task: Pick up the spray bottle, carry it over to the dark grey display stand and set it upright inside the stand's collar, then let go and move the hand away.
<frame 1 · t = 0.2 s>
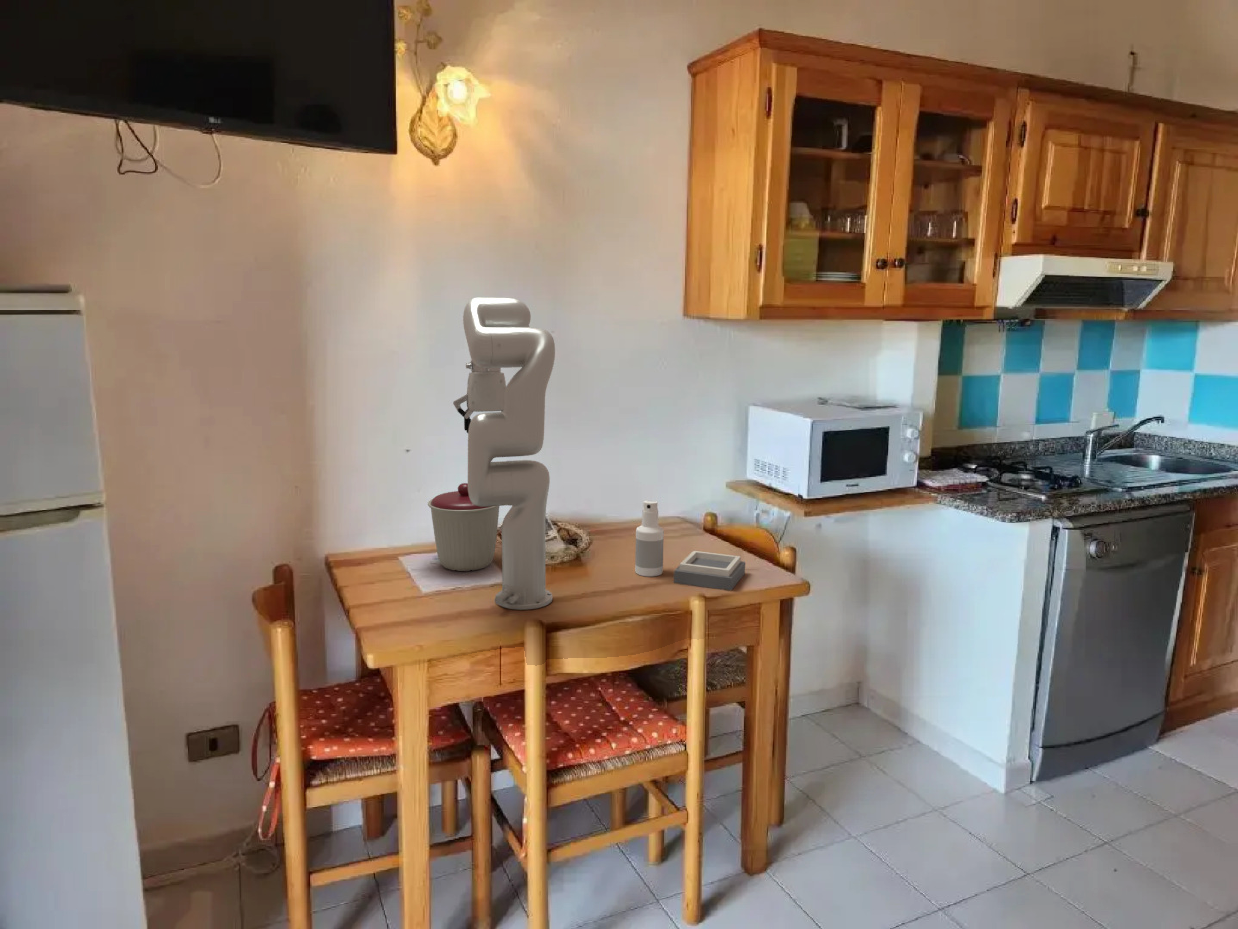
hand: (487, 432, 225), 31 cm above the table, tool pointing down, fingers open, 9 cm apart
display stand: (709, 578, 206), on the table
spray bottle: (648, 573, 210), on the table
canister: (466, 566, 213), on the table
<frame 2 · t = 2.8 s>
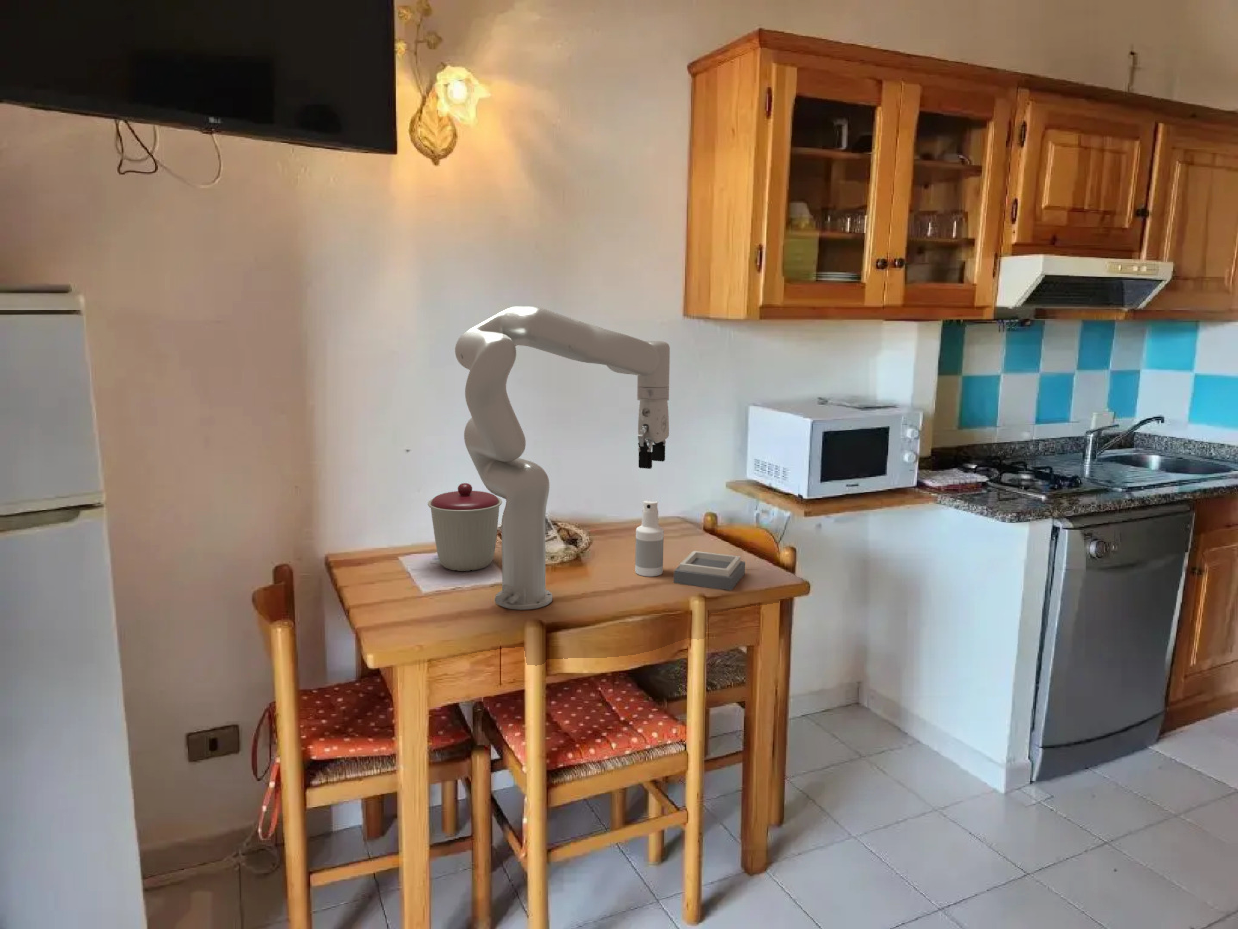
hand: (652, 464, 205), 27 cm above the table, tool pointing down, fingers open, 9 cm apart
nothing on the table moved.
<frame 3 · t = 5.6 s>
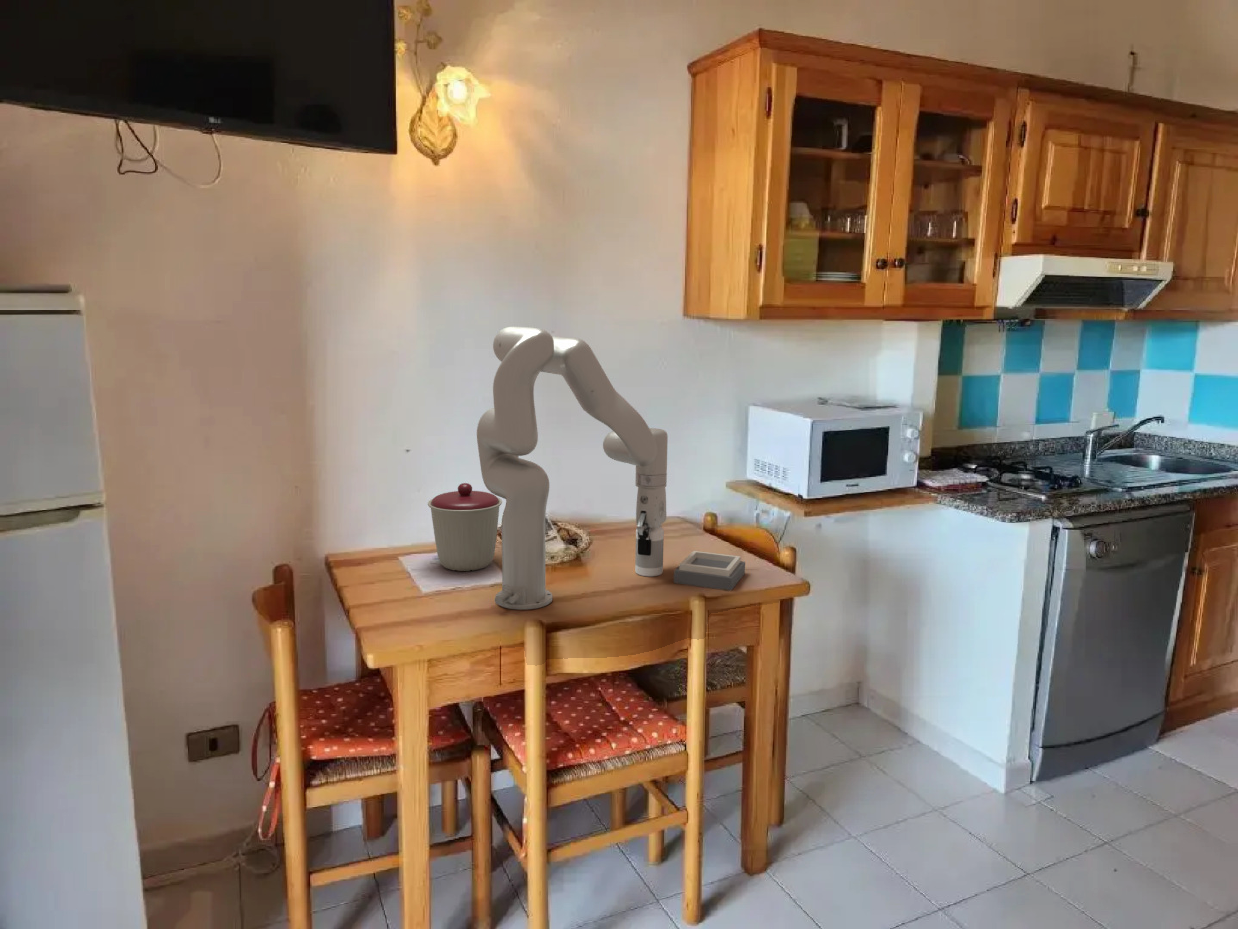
hand: (649, 550, 209), 6 cm above the table, tool pointing down, fingers closed on spray bottle, 6 cm apart
spray bottle: (648, 573, 210), on the table, touching gripper
everything else where it was.
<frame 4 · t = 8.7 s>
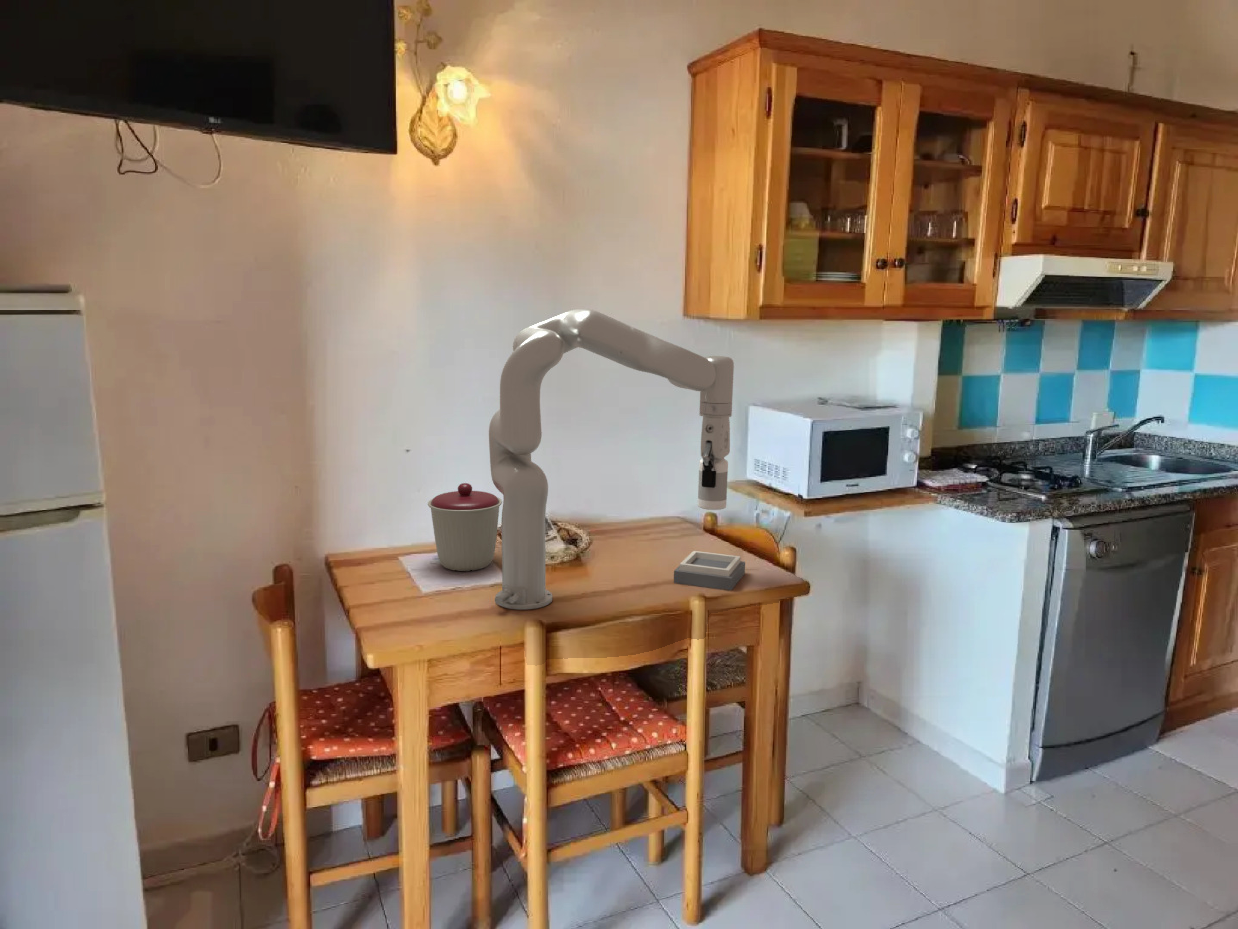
hand: (712, 483, 202), 24 cm above the table, tool pointing down, fingers closed on spray bottle, 6 cm apart
spray bottle: (711, 507, 203), point 18 cm above the table, touching gripper
everything else where it was.
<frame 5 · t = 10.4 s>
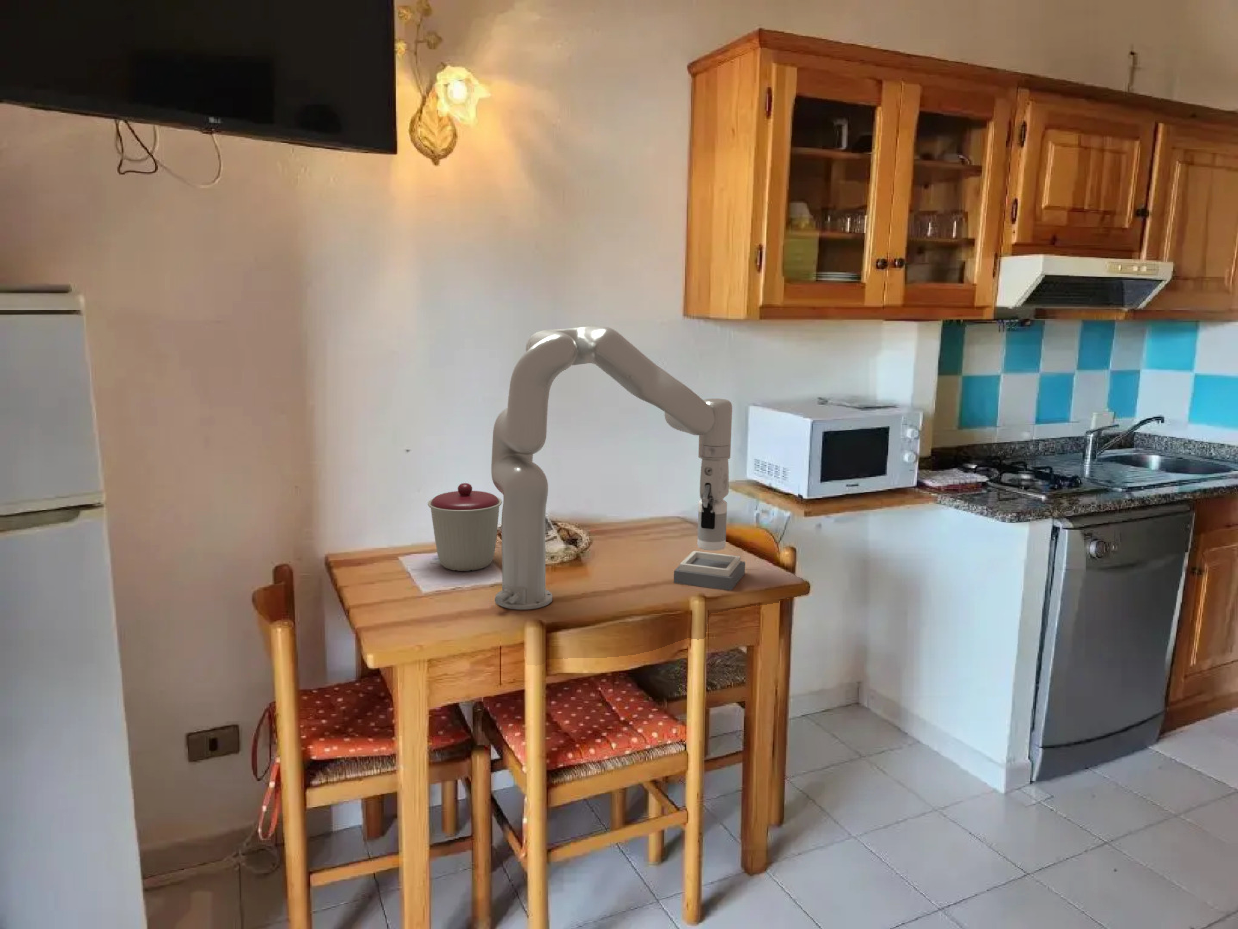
hand: (712, 523, 204), 14 cm above the table, tool pointing down, fingers closed on spray bottle, 6 cm apart
spray bottle: (711, 547, 205), point 8 cm above the table, touching gripper
everything else where it was.
when the fingers open (11 cm above the table, at t = 12.0 s): spray bottle drops 2 cm, resting on display stand.
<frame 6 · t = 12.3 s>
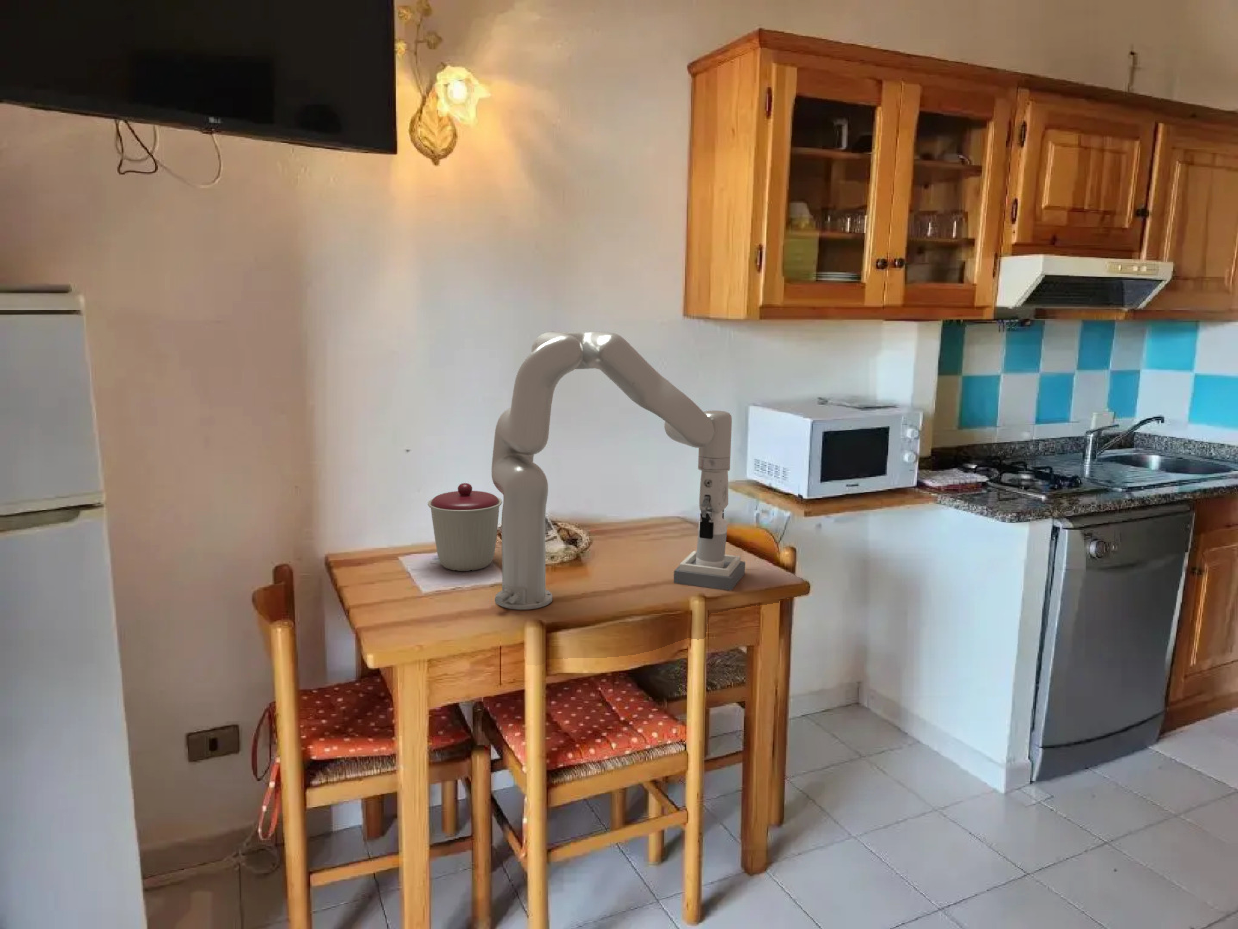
hand: (711, 533, 204), 11 cm above the table, tool pointing down, fingers open, 9 cm apart
spray bottle: (709, 566, 206), point 3 cm above the table, touching display stand
everything else where it was.
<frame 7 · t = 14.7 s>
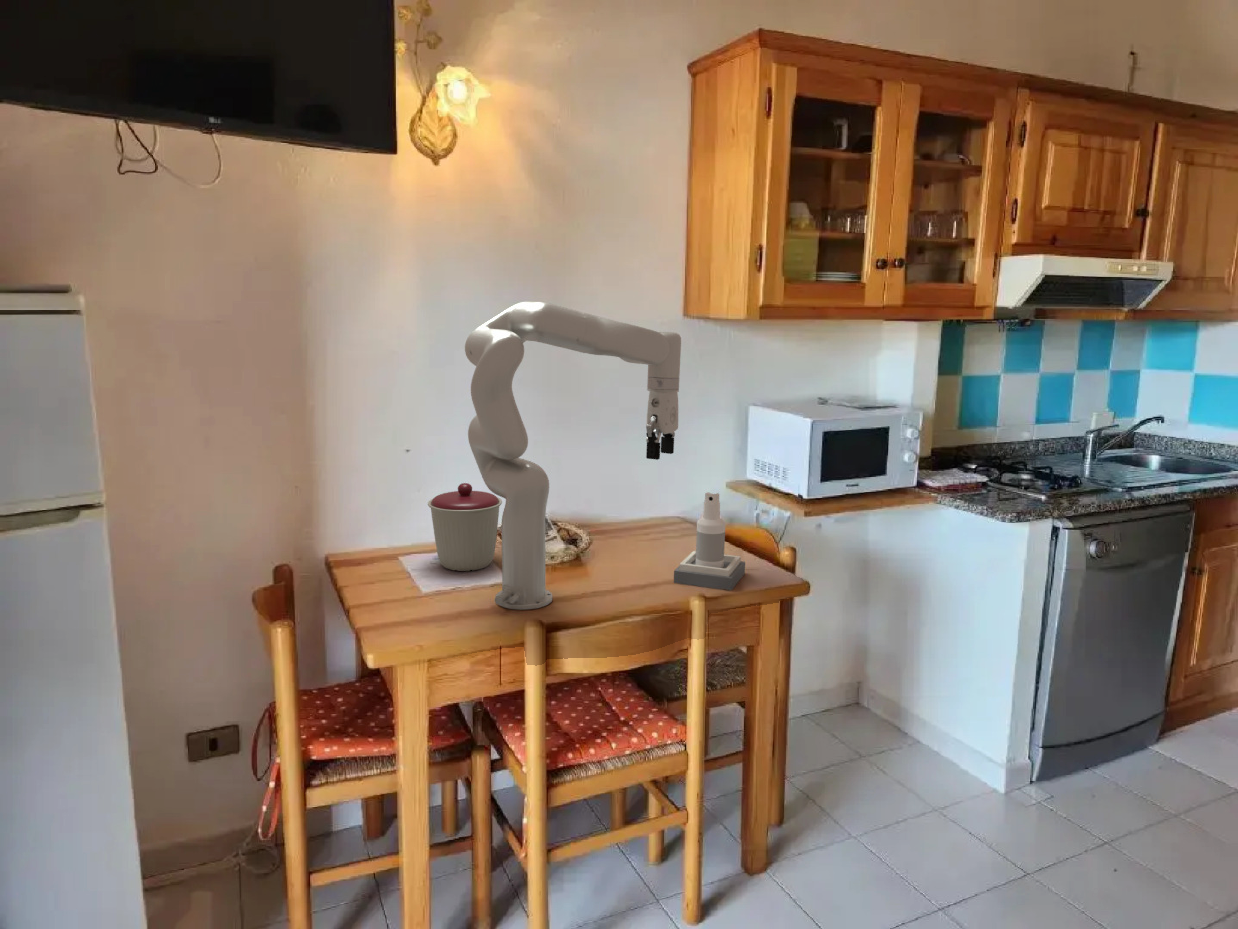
hand: (660, 456, 204), 29 cm above the table, tool pointing down, fingers open, 9 cm apart
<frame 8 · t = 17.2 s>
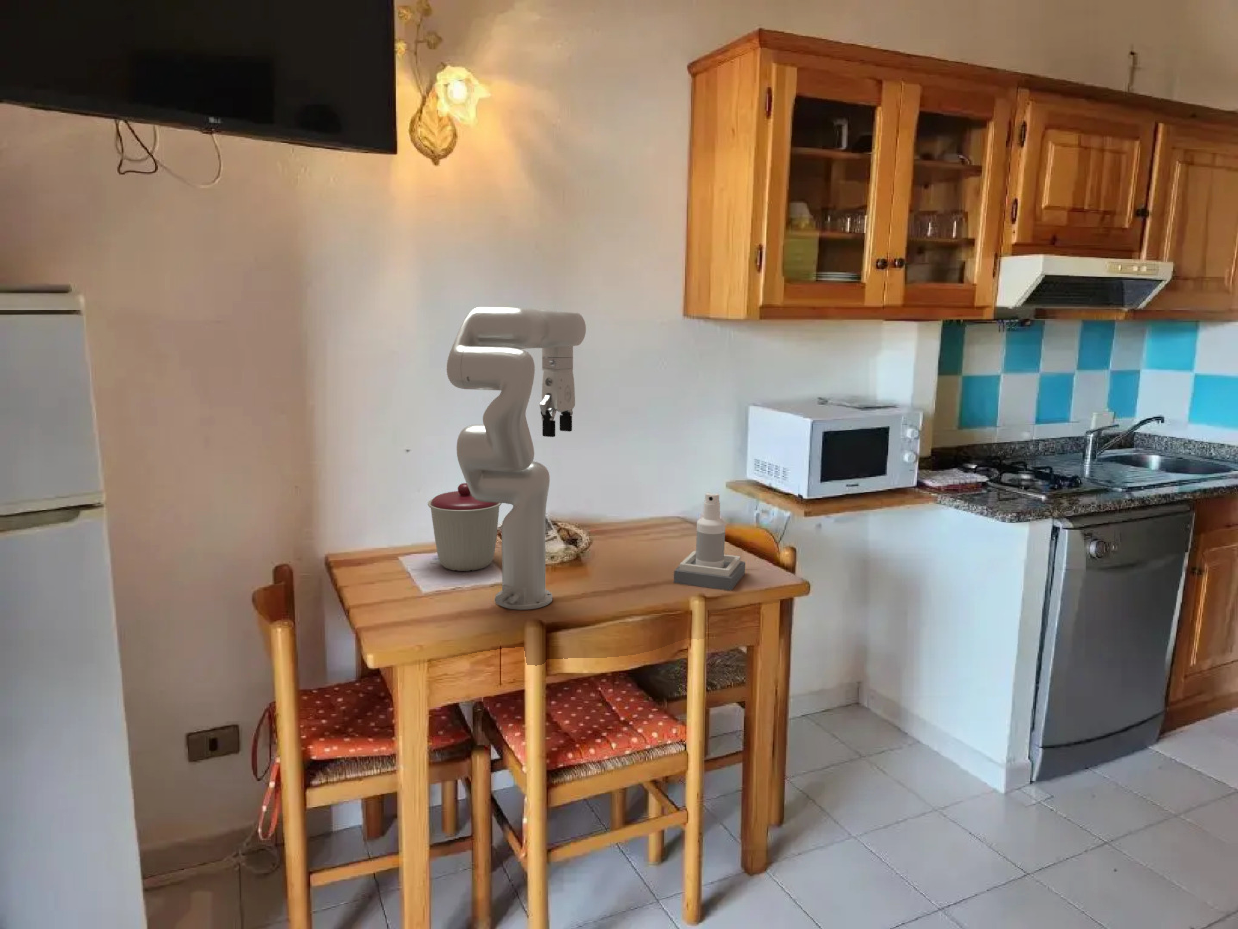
hand: (557, 433, 210), 33 cm above the table, tool pointing down, fingers open, 9 cm apart
nothing on the table moved.
at the end: spray bottle 0.2 cm off-centre on the display stand, point 2.8 cm above the display stand's base; spray bottle tilted 0°; the gripper is holding nothing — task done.
